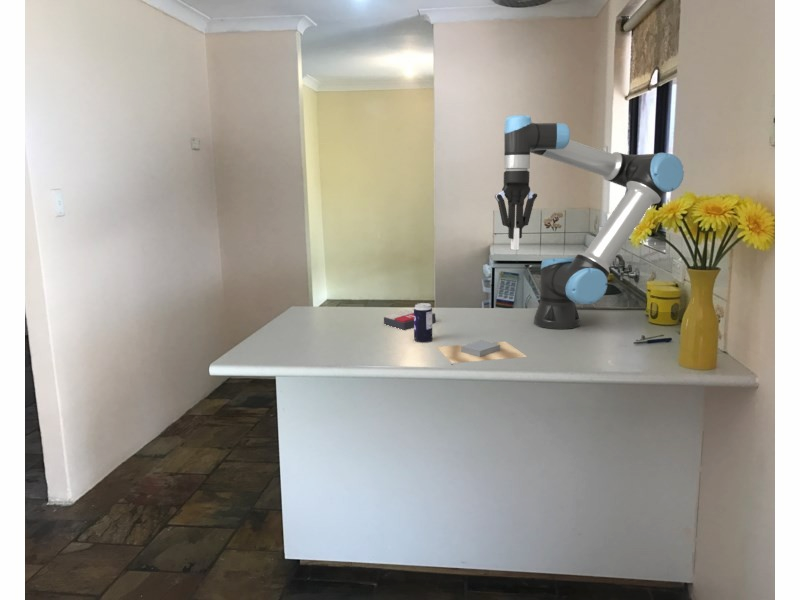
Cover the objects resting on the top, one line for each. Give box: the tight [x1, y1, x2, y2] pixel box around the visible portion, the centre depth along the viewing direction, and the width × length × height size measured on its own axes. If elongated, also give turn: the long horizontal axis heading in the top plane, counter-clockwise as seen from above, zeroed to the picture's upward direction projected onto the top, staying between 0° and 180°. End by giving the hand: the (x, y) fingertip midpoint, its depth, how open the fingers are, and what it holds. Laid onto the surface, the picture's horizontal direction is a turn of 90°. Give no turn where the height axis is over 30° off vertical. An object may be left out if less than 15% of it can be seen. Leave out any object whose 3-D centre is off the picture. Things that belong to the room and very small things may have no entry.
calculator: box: [383, 308, 437, 331], centre depth 206 cm, size 11×4×15 cm
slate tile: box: [461, 339, 500, 357], centre depth 170 cm, size 2×7×9 cm
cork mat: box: [436, 341, 528, 366], centre depth 170 cm, size 22×16×1 cm
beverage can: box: [413, 302, 433, 344], centre depth 182 cm, size 6×6×12 cm
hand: (514, 249), depth 179 cm, fingers closed
